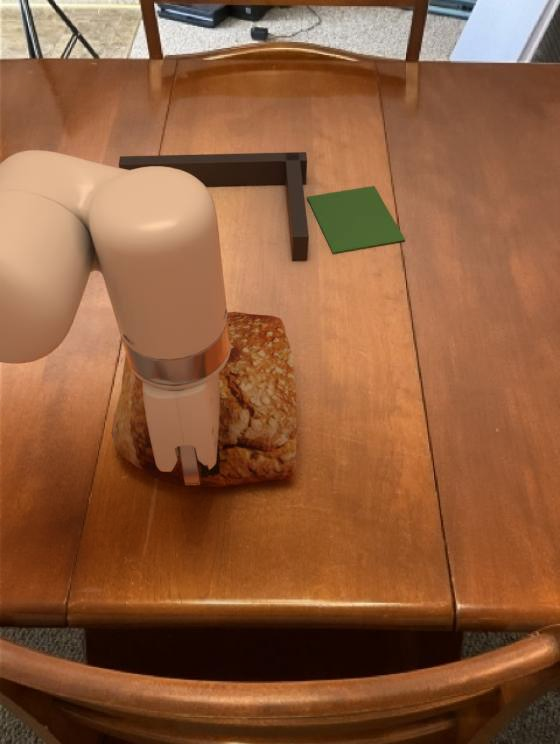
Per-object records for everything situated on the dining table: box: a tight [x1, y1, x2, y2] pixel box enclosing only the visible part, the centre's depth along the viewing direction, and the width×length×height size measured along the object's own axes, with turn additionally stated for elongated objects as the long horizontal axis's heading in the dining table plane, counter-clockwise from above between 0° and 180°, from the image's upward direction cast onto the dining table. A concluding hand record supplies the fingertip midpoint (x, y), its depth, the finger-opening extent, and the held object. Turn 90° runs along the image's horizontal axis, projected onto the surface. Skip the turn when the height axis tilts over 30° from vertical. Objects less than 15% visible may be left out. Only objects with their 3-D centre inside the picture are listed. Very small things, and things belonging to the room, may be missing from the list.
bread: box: [111, 311, 298, 488], centre depth 69 cm, size 20×18×10 cm
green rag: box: [306, 185, 406, 255], centre depth 92 cm, size 10×12×1 cm
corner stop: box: [118, 151, 310, 262], centre depth 91 cm, size 26×18×4 cm
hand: (202, 467), depth 63 cm, fingers closed
